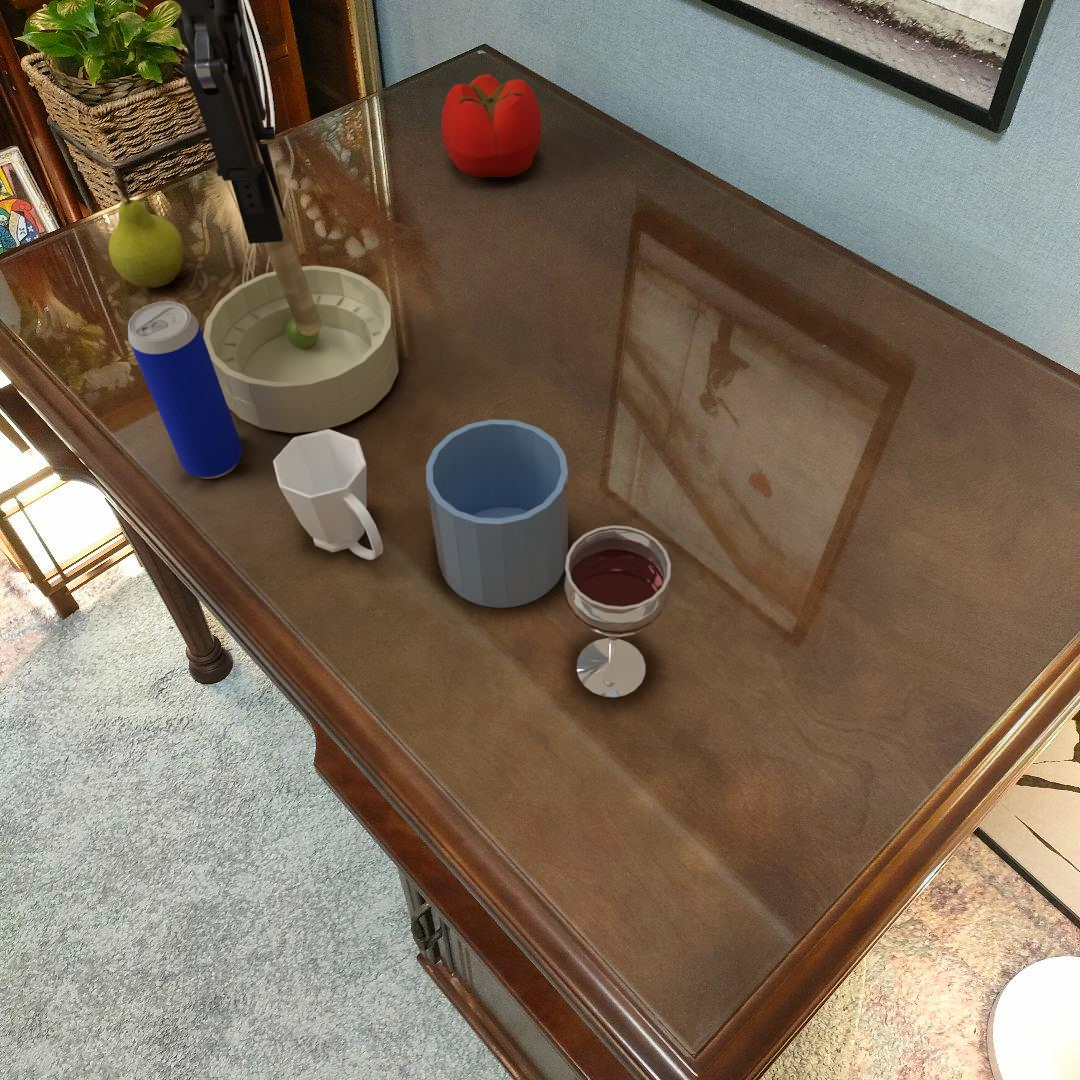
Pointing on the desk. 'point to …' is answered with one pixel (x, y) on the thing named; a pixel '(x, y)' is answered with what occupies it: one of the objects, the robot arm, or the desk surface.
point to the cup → (328, 490)
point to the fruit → (145, 246)
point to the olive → (299, 336)
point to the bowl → (303, 352)
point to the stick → (293, 277)
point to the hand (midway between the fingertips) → (267, 229)
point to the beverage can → (185, 388)
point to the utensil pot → (499, 511)
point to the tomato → (491, 127)
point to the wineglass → (615, 602)
